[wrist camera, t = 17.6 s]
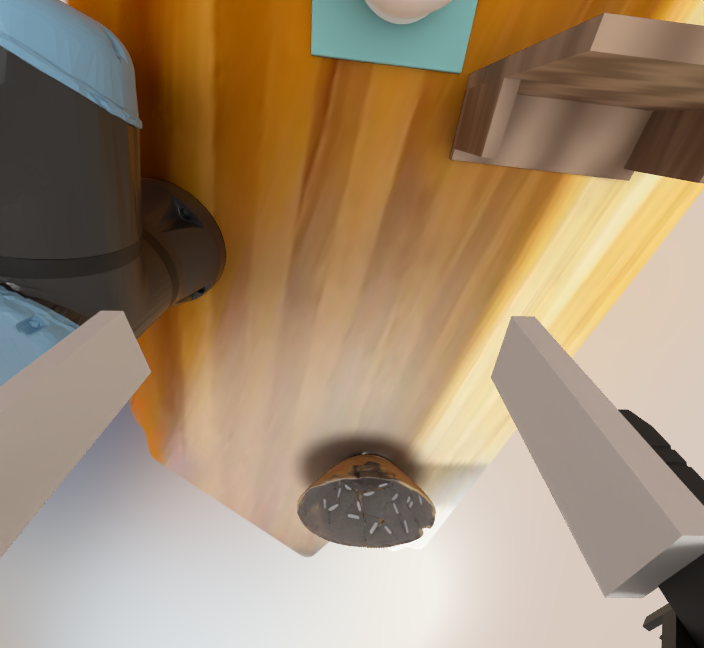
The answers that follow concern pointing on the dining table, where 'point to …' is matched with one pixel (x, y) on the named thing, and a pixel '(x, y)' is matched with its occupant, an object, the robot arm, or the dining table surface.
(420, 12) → the jar
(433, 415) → the dining table surface
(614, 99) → the wood grain panel
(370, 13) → the mat
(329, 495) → the bowl
